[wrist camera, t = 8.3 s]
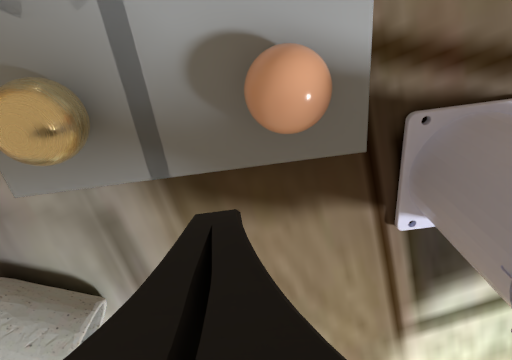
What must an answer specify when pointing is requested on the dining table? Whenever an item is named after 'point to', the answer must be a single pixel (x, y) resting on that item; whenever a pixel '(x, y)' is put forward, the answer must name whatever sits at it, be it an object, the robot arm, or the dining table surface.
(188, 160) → the bearing plate
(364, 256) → the dining table surface
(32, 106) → the brass ball
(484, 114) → the robot arm
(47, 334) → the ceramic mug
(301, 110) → the terracotta ball
